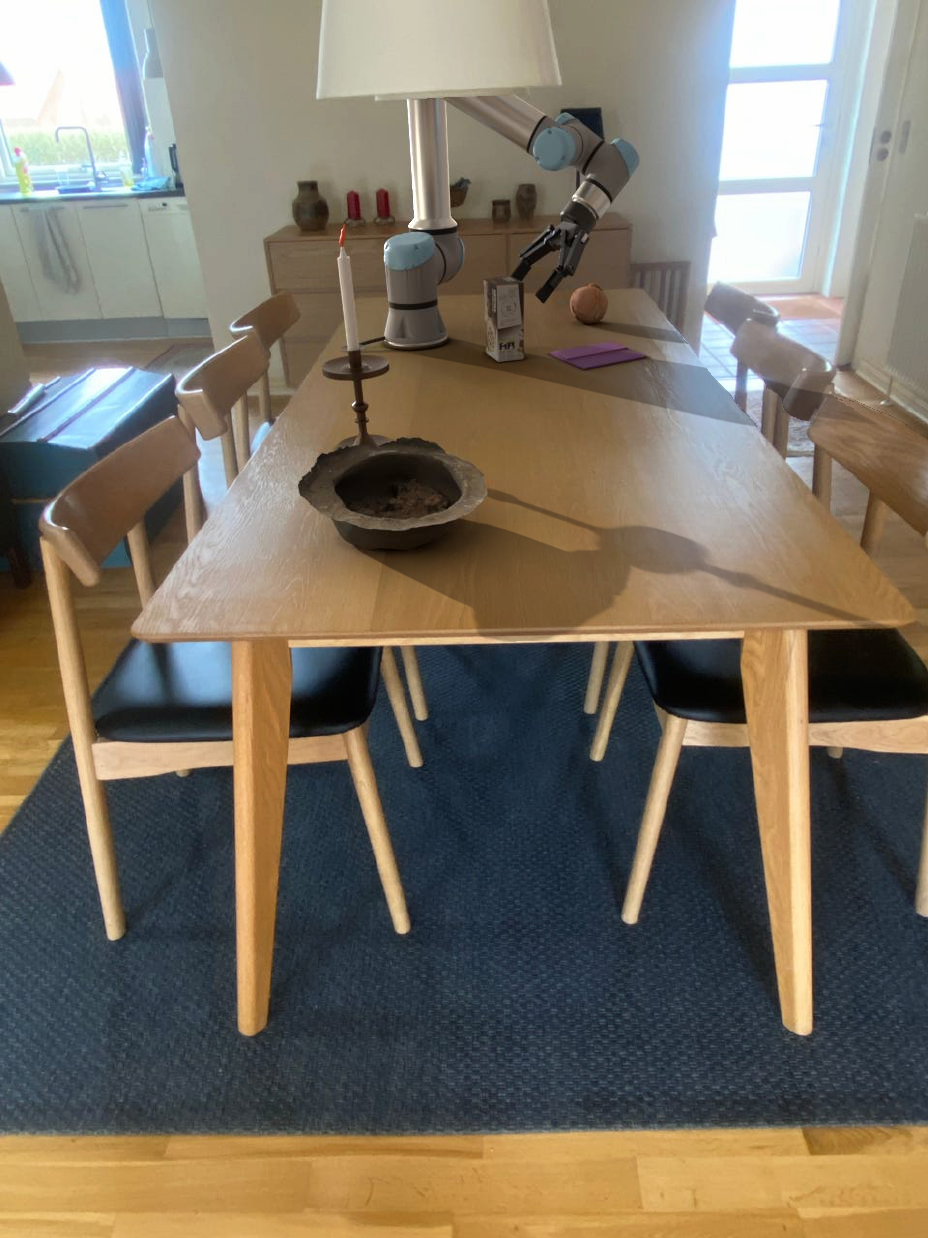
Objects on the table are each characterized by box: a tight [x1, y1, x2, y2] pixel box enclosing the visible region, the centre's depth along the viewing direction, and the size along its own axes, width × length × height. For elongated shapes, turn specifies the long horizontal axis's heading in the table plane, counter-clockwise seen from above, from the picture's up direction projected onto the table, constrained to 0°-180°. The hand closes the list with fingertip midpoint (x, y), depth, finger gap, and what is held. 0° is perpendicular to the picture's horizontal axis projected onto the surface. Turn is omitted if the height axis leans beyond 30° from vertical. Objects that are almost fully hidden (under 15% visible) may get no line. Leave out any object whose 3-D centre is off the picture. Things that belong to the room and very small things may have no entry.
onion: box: [569, 282, 609, 325], centre depth 205 cm, size 10×9×10 cm
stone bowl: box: [297, 436, 488, 551], centre depth 112 cm, size 25×25×9 cm
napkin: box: [550, 340, 648, 370], centre depth 182 cm, size 16×14×1 cm
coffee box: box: [483, 275, 525, 363], centre depth 181 cm, size 9×6×16 cm
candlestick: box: [321, 223, 392, 449], centre depth 131 cm, size 11×11×35 cm
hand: (523, 293), depth 180 cm, fingers open, 13 cm apart
